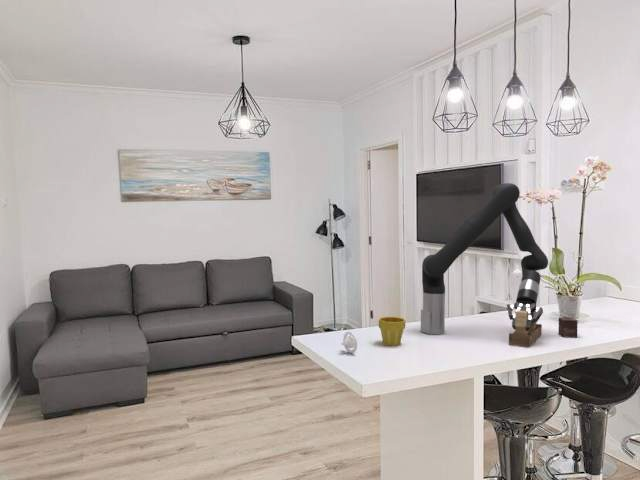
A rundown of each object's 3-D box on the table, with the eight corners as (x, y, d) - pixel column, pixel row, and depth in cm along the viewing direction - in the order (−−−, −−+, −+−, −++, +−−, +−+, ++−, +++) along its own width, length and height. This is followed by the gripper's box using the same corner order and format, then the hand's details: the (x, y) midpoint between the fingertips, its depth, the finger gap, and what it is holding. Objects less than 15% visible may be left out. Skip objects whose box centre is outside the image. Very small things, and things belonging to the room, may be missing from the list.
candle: (525, 314, 257) (526, 265, 255) (522, 317, 251) (523, 266, 249) (510, 313, 261) (511, 264, 259) (507, 315, 255) (508, 265, 253)
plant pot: (402, 348, 194) (402, 322, 194) (375, 345, 198) (375, 320, 197) (407, 341, 204) (407, 317, 203) (381, 339, 208) (382, 315, 207)
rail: (529, 347, 195) (530, 316, 194) (508, 344, 199) (509, 314, 198) (541, 335, 215) (542, 306, 214) (522, 332, 219) (523, 304, 218)
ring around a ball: (360, 354, 186) (360, 332, 185) (348, 357, 183) (348, 335, 182) (347, 349, 192) (347, 328, 192) (335, 352, 189) (335, 330, 189)
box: (577, 338, 210) (578, 320, 210) (561, 337, 211) (562, 319, 211) (573, 334, 216) (573, 317, 216) (558, 333, 217) (558, 316, 217)
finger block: (525, 341, 198) (526, 312, 197) (514, 339, 200) (515, 311, 199) (528, 338, 201) (528, 310, 201) (517, 337, 204) (518, 309, 203)
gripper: (508, 286, 209) (500, 321, 200) (545, 289, 202) (539, 325, 192) (511, 297, 214) (503, 331, 205) (547, 300, 206) (541, 336, 197)
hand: (520, 328), depth 199 cm, fingers closed on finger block, 4 cm apart
